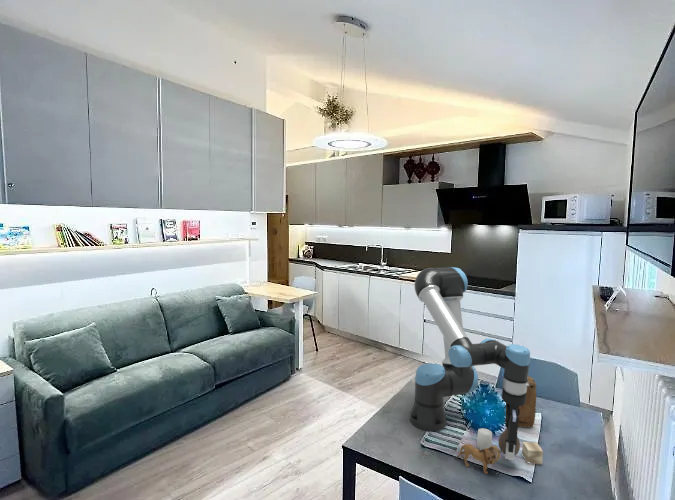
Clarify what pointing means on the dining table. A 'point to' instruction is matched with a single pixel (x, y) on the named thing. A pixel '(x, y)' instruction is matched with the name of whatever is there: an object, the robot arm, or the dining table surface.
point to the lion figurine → (480, 455)
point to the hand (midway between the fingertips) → (508, 452)
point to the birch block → (532, 452)
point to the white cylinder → (484, 438)
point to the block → (528, 406)
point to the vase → (503, 444)
